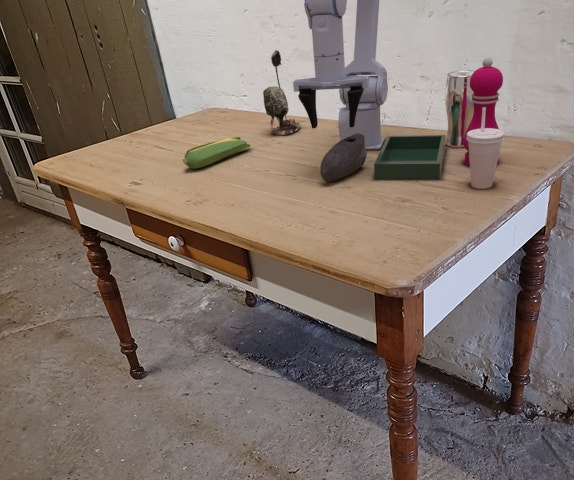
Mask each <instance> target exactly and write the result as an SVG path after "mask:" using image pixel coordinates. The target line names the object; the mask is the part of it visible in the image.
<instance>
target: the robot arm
mask: <svg viewBox="0 0 574 480" xmlns="http://www.w3.org/2000/svg"><path fill="white" fill-rule="evenodd" d="M347 5H348V0H304V3H303V6H304V12H305V15H306V17H307V21H308V23H307V24H308V28H309V30H311V39H312V51H313V62H314V63H313V64H314V77H309V78H299V79H298V78H297V79H294V80H293V81H292V87H293V92H294V93H297V92H298V95H297V96H298V100H299V101H300V102H301V104H302V106H303V108H304V110H305V111H306V114H307V116H308V119H309V122H310V126H311V129H316V128H317V127H318V126H319V125H318V124H319V123H318V112H317V91H318V90H319V91H323V90H338V91H339V93H338V94H339V100H340V101H341V103H342V105H344V106H345V107H340V108H339V111H338V138H339V142H340V141H341V140H343V139H345V138H347V137H349V136H351V135H354V134H356V133H359V134H362V135H364V137H365V141H364V144H365V148H366V150H381V149H382V147H383V144H384V142H385V140H386V138H385V137H384V136H383V137H382V131H381V130H382V128H381V127H382V125H381V123H382V122H381V106H382V105H384V104H385V102H386V101H387V98H388V93H389V92H388V91H389V84H388V72H387V68H386V67H385V66H383V65H382V64H381V63H380V62H378V61H377V59H376V58H377V44H378V43H377V42H378V27H379V26H378V25H379V12H380V0H356V12H355V15H356V16H355V31H354V34H355V35H354V48H353V49H354V50H353V60H352V61H350V63H349V64H348V65H345V64H346V62H345V45H344V43H345V42H344V24H343V16H344V15H345V14H346V12H347Z"/></svg>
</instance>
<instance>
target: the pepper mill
mask: <svg viewBox="0 0 574 480" xmlns="http://www.w3.org/2000/svg"><path fill="white" fill-rule="evenodd" d="M473 71H474V73H473V74H472V75H471V78H470V88H471V89H472V91H473V92H474V94H472V100H471V102H472V103H473V104H474V111H473V117H472V120H471V122H470V124H469V126H468V128H467V130H466V132H465V135H464V140H463V145H464V147H463V148H464V149H465V150H466V151H467V152H465V153H464V164H465V165H466V166H469V167H470V160H469V146H468V141H467V139H466V138H467V133H468V132H469V131H471V130H475V129H481V123H482V108H483V107H486V113H485V127H484V128H493V129H499V130H500V127H499V125H498V123H497V119H496V105H497V102H499V100H500V99H499V96H500V93H499V91H500V89H501V88H502V87H503V84H504V76H503V73H502V71H501V70H500V69H499V68H497V67H496V66H493V59H492V58H491V57H486V58H484V59H483V61H482V67H479V68H477V69H475V70H473Z"/></svg>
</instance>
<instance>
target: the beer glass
mask: <svg viewBox="0 0 574 480" xmlns="http://www.w3.org/2000/svg"><path fill="white" fill-rule="evenodd" d="M474 71H475V70H470V69H469V70H468V69H467V70H456V71H455V70H454V71H450V72H448V73H447V74H446V82H445V92H444V101H445V103H444V105H445V112H446V119H447V134H446V137H445V146H447V147H451V148H465V147H464V145H463V140H464V135H465V132H466V130H467V128H468V126H469V124H470V122H471V120H472V117H473V111H474V104H473V103H472V102H471V100H472V94H474V92H473V91H472V89H471V88H470V78H471V75H472V74H473V73H474Z"/></svg>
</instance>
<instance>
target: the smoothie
mask: <svg viewBox="0 0 574 480" xmlns="http://www.w3.org/2000/svg"><path fill="white" fill-rule="evenodd" d="M485 113H486V107H483V108H482V123H481V129H475V130H471V131H469V132H468V133H467V138H466V139H467V141H468V146H469V160H470V166H469V173H470V184H471V185H470V186H471V187H472V188H474V189H477V190H478V189H479V190H485V189H489V188H492V186H493V185H494V181H495V175H496V171H497V165H498V161H499V157H500V152H501V147H502V142H503V141H504V139H505V131H504V130H501V129H500V128H499V129H493V128H484V127H485Z"/></svg>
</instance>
